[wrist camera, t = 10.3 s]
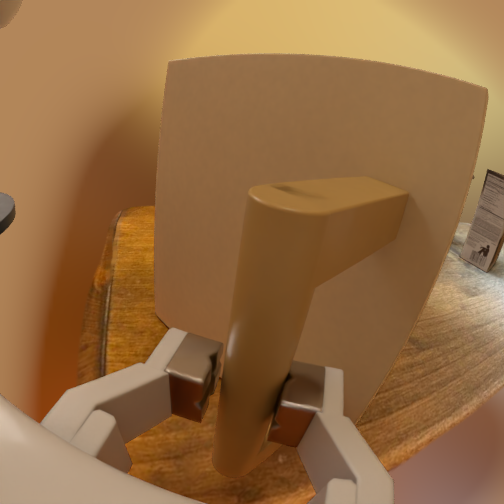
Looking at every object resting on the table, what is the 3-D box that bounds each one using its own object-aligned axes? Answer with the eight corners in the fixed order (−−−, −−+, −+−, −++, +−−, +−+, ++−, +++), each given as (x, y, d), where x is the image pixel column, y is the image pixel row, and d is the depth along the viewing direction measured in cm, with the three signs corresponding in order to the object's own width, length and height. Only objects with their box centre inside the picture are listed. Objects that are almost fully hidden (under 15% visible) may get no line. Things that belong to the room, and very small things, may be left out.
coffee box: (470, 249, 50) (494, 171, 43) (495, 263, 46) (523, 184, 39) (458, 256, 45) (486, 167, 38) (487, 273, 41) (519, 182, 34)
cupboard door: (250, 531, 10) (463, -21, 2) (87, 339, 19) (72, 55, 11) (336, 450, 14) (488, 96, 6) (165, 309, 24) (182, 62, 16)
